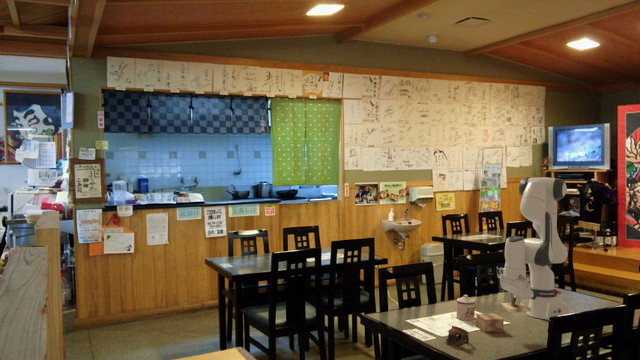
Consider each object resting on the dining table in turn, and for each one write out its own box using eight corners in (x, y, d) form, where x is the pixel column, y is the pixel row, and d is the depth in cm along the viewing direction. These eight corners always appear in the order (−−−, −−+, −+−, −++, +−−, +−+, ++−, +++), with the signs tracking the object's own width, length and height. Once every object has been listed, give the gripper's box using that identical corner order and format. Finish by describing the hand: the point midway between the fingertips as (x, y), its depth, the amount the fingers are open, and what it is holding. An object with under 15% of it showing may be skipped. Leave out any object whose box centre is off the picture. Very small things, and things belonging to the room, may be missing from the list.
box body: (494, 325, 240) (494, 313, 239) (503, 332, 230) (504, 319, 230) (475, 326, 238) (476, 313, 238) (484, 332, 229) (485, 319, 229)
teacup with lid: (467, 322, 245) (467, 298, 244) (452, 317, 252) (452, 294, 252) (482, 318, 252) (482, 295, 251) (467, 313, 259) (467, 291, 259)
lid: (519, 305, 230) (519, 295, 229) (530, 311, 220) (530, 301, 220) (499, 306, 228) (499, 296, 228) (510, 312, 219) (510, 302, 219)
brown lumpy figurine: (440, 342, 218) (446, 324, 220) (458, 351, 219) (464, 333, 221) (453, 344, 206) (460, 325, 209) (473, 353, 207) (479, 334, 210)
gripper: (534, 278, 214) (534, 310, 214) (510, 268, 234) (510, 297, 234) (520, 278, 213) (520, 310, 213) (497, 268, 233) (497, 297, 234)
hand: (515, 303), depth 224 cm, fingers closed on lid, 3 cm apart
